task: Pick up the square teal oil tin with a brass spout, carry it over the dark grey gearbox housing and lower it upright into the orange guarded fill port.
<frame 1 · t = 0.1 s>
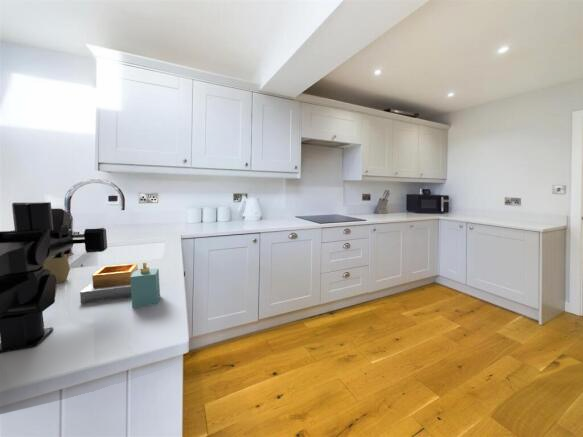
hand: (76, 236, 70), 17 cm above the counter, tool horizontal, fingers open, 9 cm apart
oil can: (146, 301, 66), on the counter
gearbox housing: (117, 288, 76), on the counter
squeeze bottle: (54, 282, 81), on the counter
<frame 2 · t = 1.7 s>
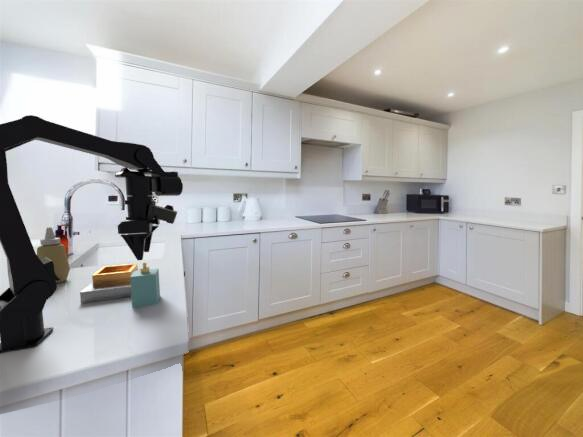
hand: (143, 255, 65), 12 cm above the counter, tool pointing down, fingers open, 9 cm apart
nothing on the counter moved.
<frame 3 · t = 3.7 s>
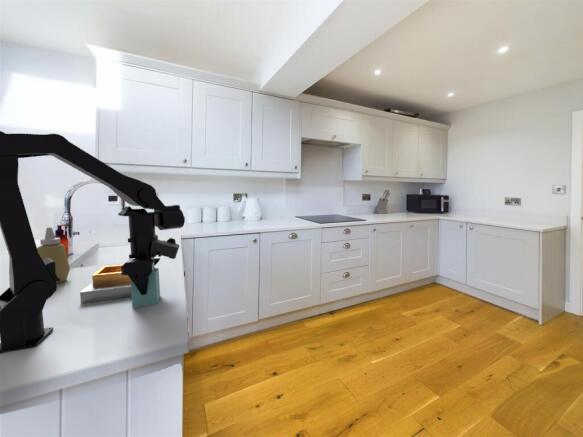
hand: (146, 290, 66), 3 cm above the counter, tool pointing down, fingers closed on oil can, 6 cm apart
oil can: (147, 301, 66), on the counter, touching gripper
everything else where it was.
when the fingers open (7 cm above the counter, at t = 9.5 s): oil can stays where it is, resting on gearbox housing.
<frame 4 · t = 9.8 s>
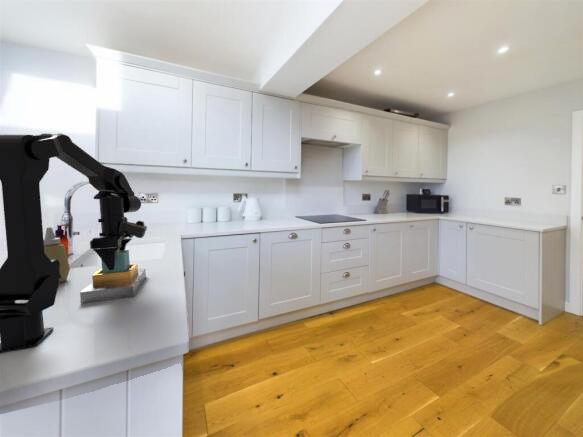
hand: (116, 265, 75), 7 cm above the counter, tool pointing down, fingers open, 9 cm apart
oil can: (117, 278, 75), point 3 cm above the counter, touching gearbox housing
everything else where it was.
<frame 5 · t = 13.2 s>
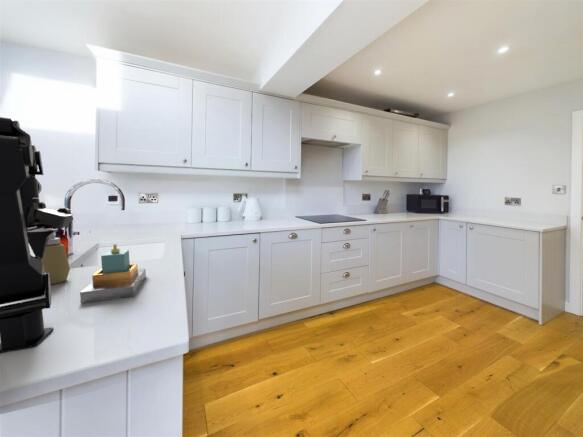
hand: (29, 263, 60), 12 cm above the counter, tool pointing down, fingers open, 9 cm apart
nothing on the counter moved.
at the end: oil can 0.1 cm off-centre on the gearbox housing, point 3.0 cm above the gearbox housing's base; oil can tilted 0°; the gripper is holding nothing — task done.
